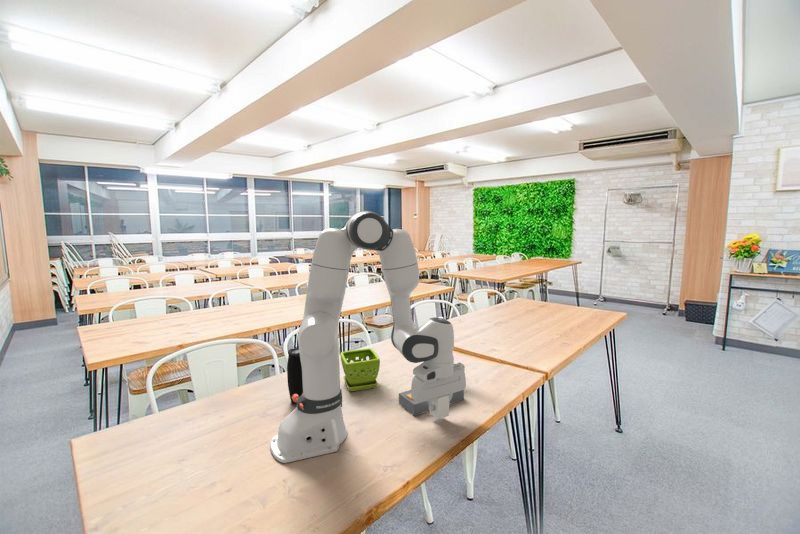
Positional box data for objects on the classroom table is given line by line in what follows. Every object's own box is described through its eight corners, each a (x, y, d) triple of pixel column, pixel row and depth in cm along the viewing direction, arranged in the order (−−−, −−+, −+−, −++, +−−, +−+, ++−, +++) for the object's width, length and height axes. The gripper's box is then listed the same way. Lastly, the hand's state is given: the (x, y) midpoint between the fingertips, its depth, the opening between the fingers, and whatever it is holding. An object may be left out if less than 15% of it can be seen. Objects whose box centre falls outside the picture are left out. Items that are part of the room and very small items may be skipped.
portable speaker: (284, 403, 132) (281, 351, 130) (301, 393, 140) (299, 344, 138) (302, 408, 128) (299, 355, 126) (319, 397, 137) (316, 347, 134)
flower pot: (340, 380, 151) (339, 351, 150) (373, 376, 155) (372, 347, 154) (346, 395, 138) (345, 363, 137) (381, 389, 142) (380, 358, 141)
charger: (437, 419, 116) (438, 398, 115) (429, 413, 120) (430, 393, 119) (448, 416, 118) (449, 395, 117) (440, 410, 122) (440, 390, 121)
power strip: (414, 415, 122) (414, 403, 121) (398, 403, 130) (398, 391, 130) (463, 399, 133) (464, 387, 133) (446, 389, 142) (446, 377, 141)
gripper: (458, 358, 125) (457, 396, 127) (408, 370, 115) (408, 411, 116) (470, 364, 120) (469, 404, 121) (419, 377, 109) (419, 420, 111)
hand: (439, 408), depth 119 cm, fingers closed on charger, 4 cm apart
